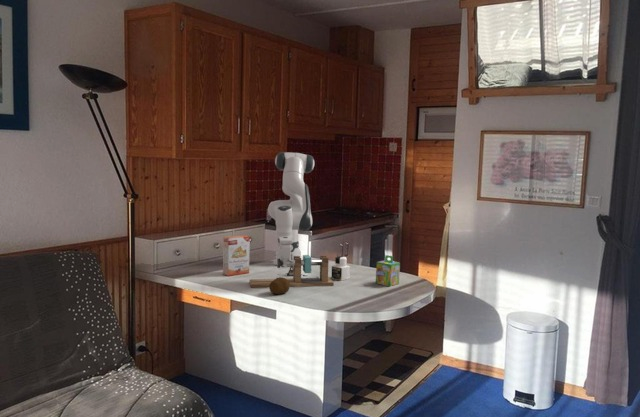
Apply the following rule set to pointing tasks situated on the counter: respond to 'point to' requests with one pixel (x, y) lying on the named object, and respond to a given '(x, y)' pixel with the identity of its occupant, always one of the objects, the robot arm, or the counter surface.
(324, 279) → the shaft stand
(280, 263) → the shaft
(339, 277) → the medicine bottle
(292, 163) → the robot arm
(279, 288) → the potato
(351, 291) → the counter surface
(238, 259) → the cracker box
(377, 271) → the chalk box
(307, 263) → the teal holed block
